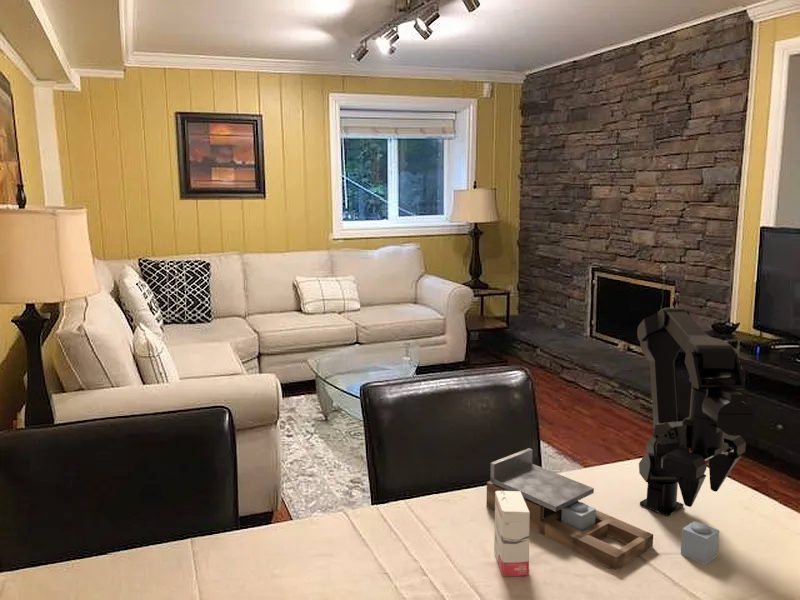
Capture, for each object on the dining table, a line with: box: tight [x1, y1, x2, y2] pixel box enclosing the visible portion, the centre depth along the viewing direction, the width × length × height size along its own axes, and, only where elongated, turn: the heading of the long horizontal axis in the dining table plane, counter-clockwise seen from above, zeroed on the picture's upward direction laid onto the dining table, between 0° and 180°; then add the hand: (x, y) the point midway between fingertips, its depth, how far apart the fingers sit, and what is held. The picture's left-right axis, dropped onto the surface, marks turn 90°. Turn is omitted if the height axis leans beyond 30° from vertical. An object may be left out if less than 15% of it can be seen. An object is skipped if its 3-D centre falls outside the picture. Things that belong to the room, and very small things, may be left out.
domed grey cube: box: [680, 520, 720, 566], centre depth 118 cm, size 4×4×6 cm
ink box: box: [493, 491, 530, 577], centre depth 115 cm, size 9×5×12 cm, turn 1°
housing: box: [485, 480, 654, 571], centre depth 129 cm, size 12×31×5 cm, turn 39°
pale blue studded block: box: [561, 500, 597, 532], centre depth 126 cm, size 4×4×6 cm
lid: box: [489, 447, 595, 513], centre depth 132 cm, size 12×17×4 cm
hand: (701, 498), depth 117 cm, fingers open, 9 cm apart
